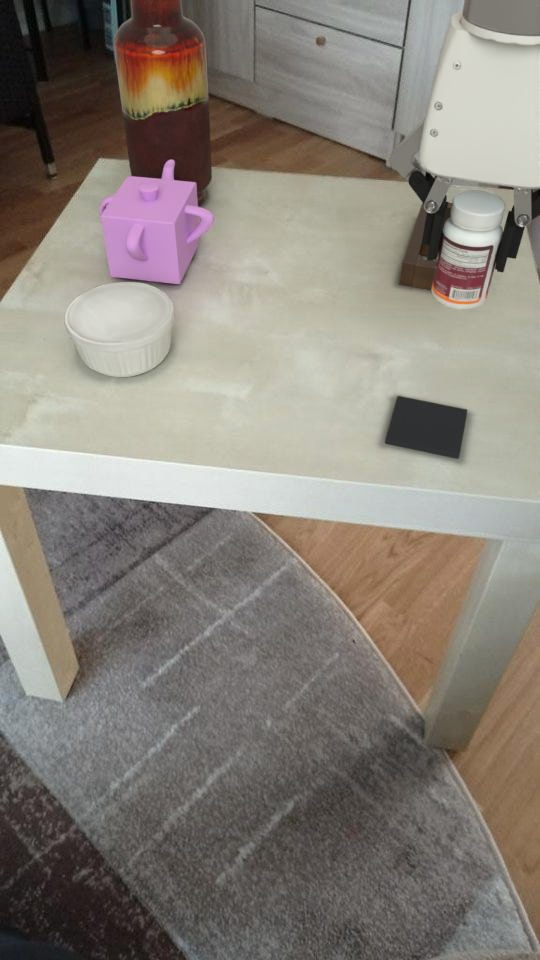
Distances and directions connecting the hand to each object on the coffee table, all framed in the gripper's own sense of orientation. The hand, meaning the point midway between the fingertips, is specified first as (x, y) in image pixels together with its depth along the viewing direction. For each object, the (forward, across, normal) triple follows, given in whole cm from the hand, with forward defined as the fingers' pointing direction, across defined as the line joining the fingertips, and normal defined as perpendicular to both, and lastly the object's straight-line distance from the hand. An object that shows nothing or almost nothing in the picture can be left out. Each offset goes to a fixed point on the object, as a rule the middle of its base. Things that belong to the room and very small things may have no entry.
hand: (467, 255), depth 60 cm
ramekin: (+18, +33, 0) cm, 38 cm away
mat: (+18, 0, +2) cm, 18 cm away
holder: (+18, +3, -30) cm, 35 cm away
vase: (+18, +41, -34) cm, 56 cm away
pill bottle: (+4, 0, 0) cm, 4 cm away
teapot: (+18, +36, -18) cm, 44 cm away
